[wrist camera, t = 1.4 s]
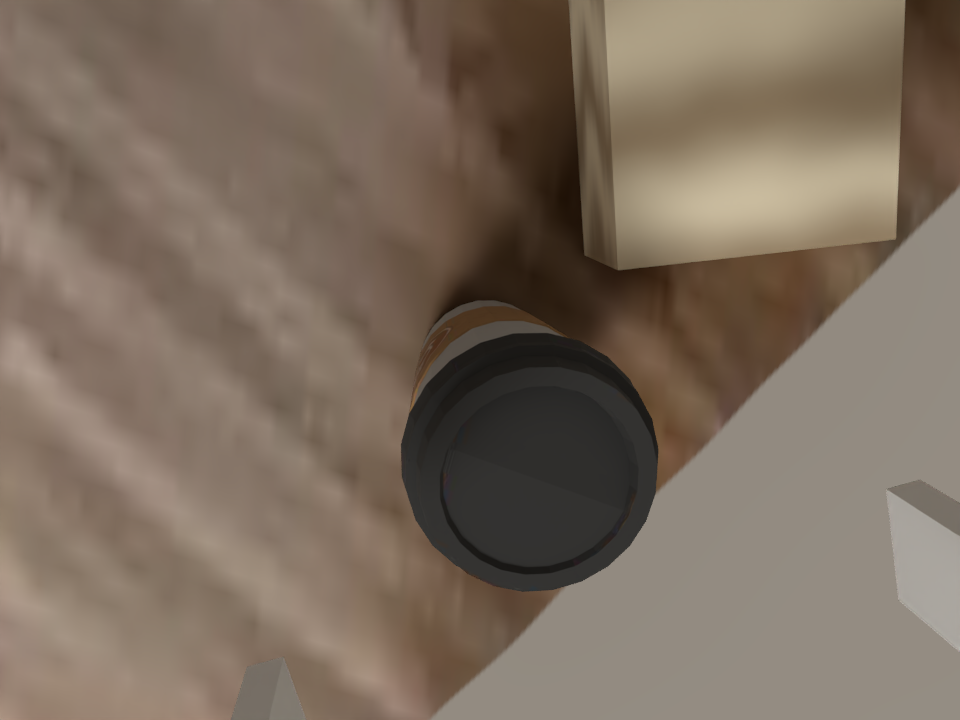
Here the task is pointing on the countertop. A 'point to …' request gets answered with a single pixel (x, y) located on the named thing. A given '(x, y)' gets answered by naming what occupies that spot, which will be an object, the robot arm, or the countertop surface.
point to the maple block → (735, 126)
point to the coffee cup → (525, 450)
